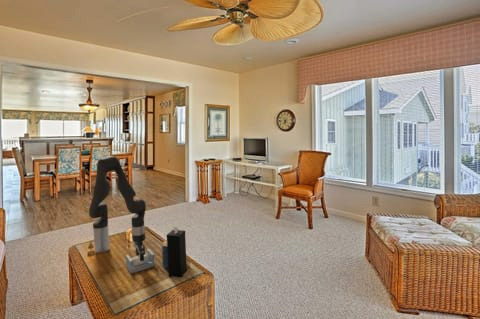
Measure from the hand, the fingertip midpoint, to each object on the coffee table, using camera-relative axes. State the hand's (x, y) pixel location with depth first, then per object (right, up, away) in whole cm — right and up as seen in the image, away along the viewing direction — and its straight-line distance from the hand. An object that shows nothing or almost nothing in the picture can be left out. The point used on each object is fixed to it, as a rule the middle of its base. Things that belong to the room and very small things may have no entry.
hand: (140, 257), depth 160 cm
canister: (+20, -5, +3) cm, 21 cm away
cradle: (0, -5, 0) cm, 5 cm away
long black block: (+25, -6, -8) cm, 27 cm away
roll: (+1, -4, -1) cm, 4 cm away
